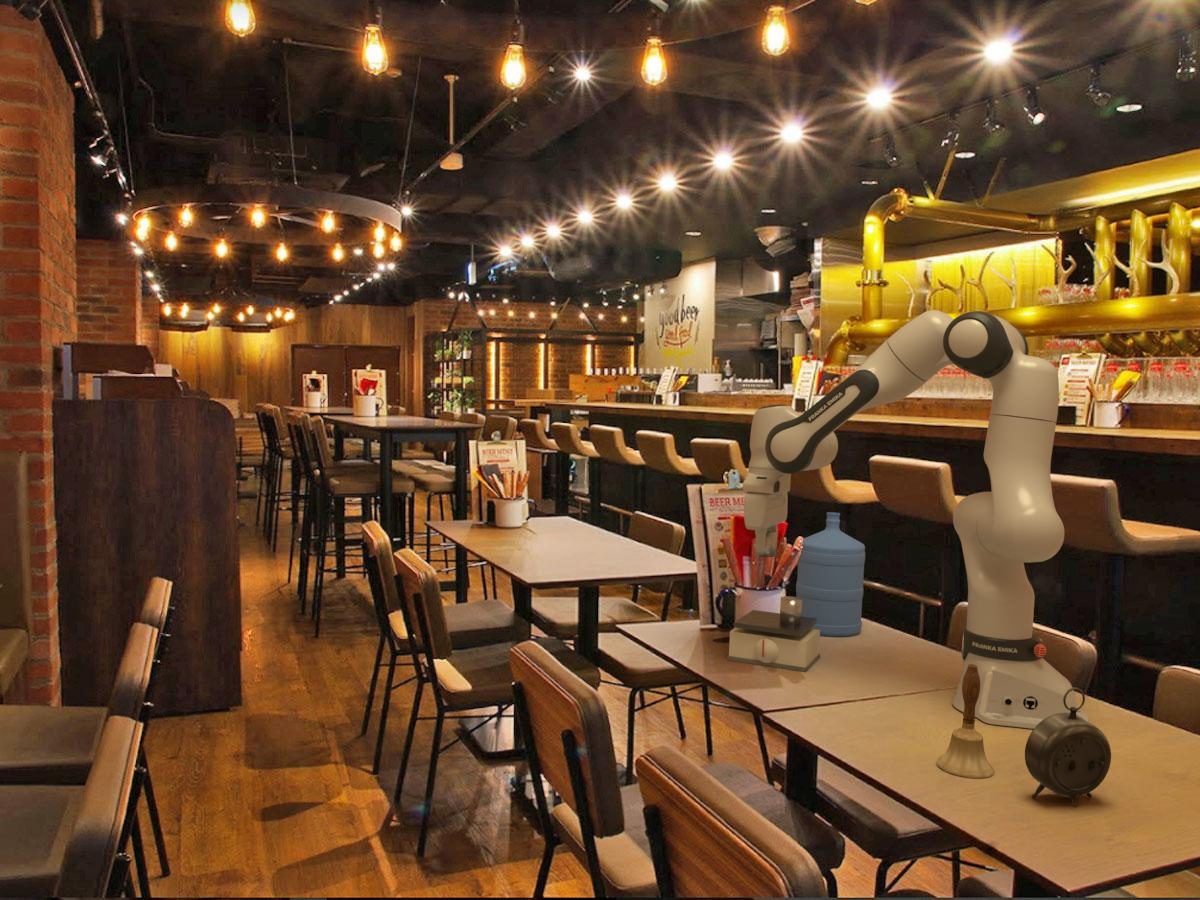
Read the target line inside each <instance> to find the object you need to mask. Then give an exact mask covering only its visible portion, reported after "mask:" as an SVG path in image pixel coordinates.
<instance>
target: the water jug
mask: <svg viewBox="0 0 1200 900" xmlns="http://www.w3.org/2000/svg"><path fill="white" fill-rule="evenodd" d="M840 516H841V513H840V512H833V511H828V512H826V520H825V523H826V524H825V525H826V526H825V529H824V530H822V531H819V532H816V533H813V534H812V535H809V536H807V537H804V538H802V539H803V548H802V551H801V555H800V557H799V559H798V558H797V574H796V575H797V578H796V583H795V592H796V596H795V597H798V598H801V599H802V613H801V616H803V617H811V618H817V623H816V624H815V625H813V626H812V627H811V628H810V629H817V630H820V636H822V637H833V638H834V637H835V638H836V637H837V638H838V637H839V638H840V637H841V638H842V637H843V638H844V637H850V636H851V637H852V636H856V635H857V634H859V633H860V632H861V631H862V627H863V623H862V610H863V609H862V608H863V598H864V575H865V574H864V573H865V564H866V563H865V561H866V546H865V544H864V543H862V542H861V541H859V540H857V539H856V538H853V537H852V536H850V535H848V534H846V533H845V532H843V531H841V529H840V523H841V520H840Z"/></svg>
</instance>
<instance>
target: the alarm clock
mask: <svg viewBox="0 0 1200 900" xmlns="http://www.w3.org/2000/svg"><path fill="white" fill-rule="evenodd" d="M1072 690H1074V691H1078V692H1079V693H1080V694H1081V696H1082V701H1081V704H1080V706H1076V707H1078V708H1076V707H1071V708H1068V707H1067V705H1066V697H1067V695H1068V693H1069V692H1070V691H1072ZM1085 701H1086V696H1085V693H1084V692H1083V690H1082V689H1080V688H1079V687H1072V688H1071V689H1069V690H1068V691H1067V692H1066V693H1065V695H1064V698H1063V702H1064V706H1065V707H1066V708H1067V709H1068V710H1070V711H1071V712H1070V713H1058V714H1054V715H1051V716H1049V717H1047V718H1045V719H1044V720H1042V721H1041V722H1040V723H1039V724H1038V725H1037V726H1036V727H1035V728H1034V729H1032V731H1031V733H1030V734H1029V736H1028V738H1027V740H1026V742H1025V743H1026V744H1025V746H1024V747H1025V748H1024V761H1025V762H1024V763H1025V766H1026V768H1027V771H1028V772H1029V774H1030V775H1031V777H1032V778H1033V779H1034V780H1035V781H1037V782H1038V783H1039V785H1038V786H1037V787H1036V790H1035V791H1034V793H1033V794H1031V798H1032V799H1036V798H1037V797H1038V795H1039V794H1041V792H1042V791H1044V789H1045V788H1046V789H1048V790H1049V791H1051V792H1052V793H1053V794H1055V795H1058V796H1060V797H1063V798H1064V797H1065V798H1071V803H1072V806H1073V807H1075V808H1078V800H1077V798H1078V797H1082V796H1086V797H1087V798H1089V799H1090V798H1091V797H1092V794H1091V792H1093V791H1095V789H1096V788H1098V787H1099V786H1100V785H1101V784H1102V782H1104V780H1105V778H1106V776H1107V775H1108V773H1109V770H1110V766H1111V763H1112V750H1111V746H1110V745H1111V744H1110V743H1109V740H1108V738H1107V736H1106V735H1105V733H1104V732H1103V731H1102V730H1100V729H1099V728H1098V727H1097V726H1096V725H1094V724H1092V723H1090V721H1089V722H1087V721H1086V720H1084V719H1083V718H1081V717H1080V716H1078V715H1076V712H1077V710H1079V709H1082V707H1084V705H1085Z"/></svg>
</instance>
